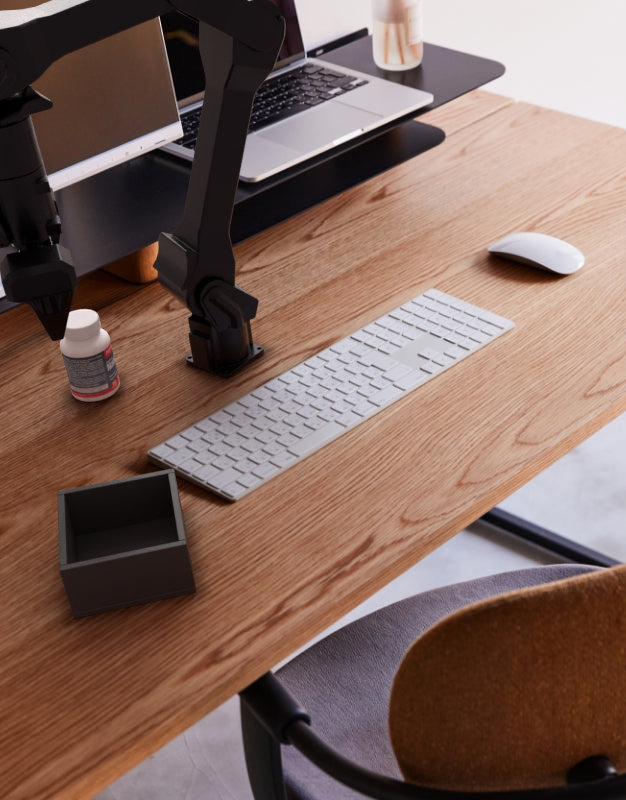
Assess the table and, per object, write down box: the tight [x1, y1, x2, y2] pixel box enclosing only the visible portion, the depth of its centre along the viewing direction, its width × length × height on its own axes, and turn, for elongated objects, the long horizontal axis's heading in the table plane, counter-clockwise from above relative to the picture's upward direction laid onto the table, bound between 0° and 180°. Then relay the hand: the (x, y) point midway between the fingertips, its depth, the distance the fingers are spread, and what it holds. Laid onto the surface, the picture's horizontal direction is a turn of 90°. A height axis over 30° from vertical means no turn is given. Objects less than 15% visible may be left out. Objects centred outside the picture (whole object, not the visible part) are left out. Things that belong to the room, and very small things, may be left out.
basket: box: [56, 468, 197, 620], centre depth 92 cm, size 10×10×6 cm
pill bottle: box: [59, 308, 121, 403], centre depth 113 cm, size 5×5×9 cm
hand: (52, 316), depth 104 cm, fingers open, 9 cm apart
